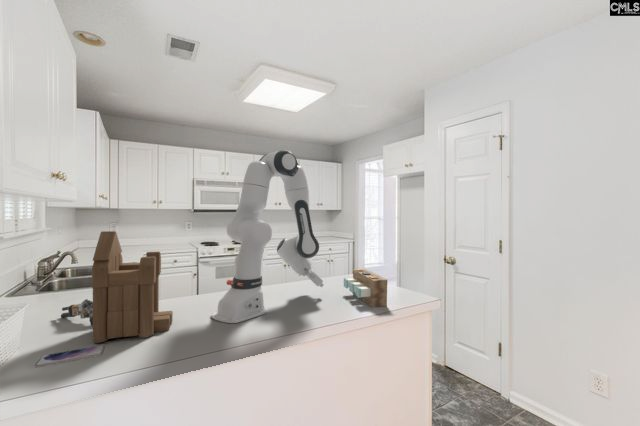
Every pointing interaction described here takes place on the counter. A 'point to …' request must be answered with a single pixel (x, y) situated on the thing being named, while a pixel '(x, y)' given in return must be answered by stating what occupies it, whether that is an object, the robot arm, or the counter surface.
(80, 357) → the smartphone
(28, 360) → the counter surface
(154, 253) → the castle structure
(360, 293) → the plunger near
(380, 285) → the console
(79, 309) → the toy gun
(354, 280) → the plunger far
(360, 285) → the plunger middle
